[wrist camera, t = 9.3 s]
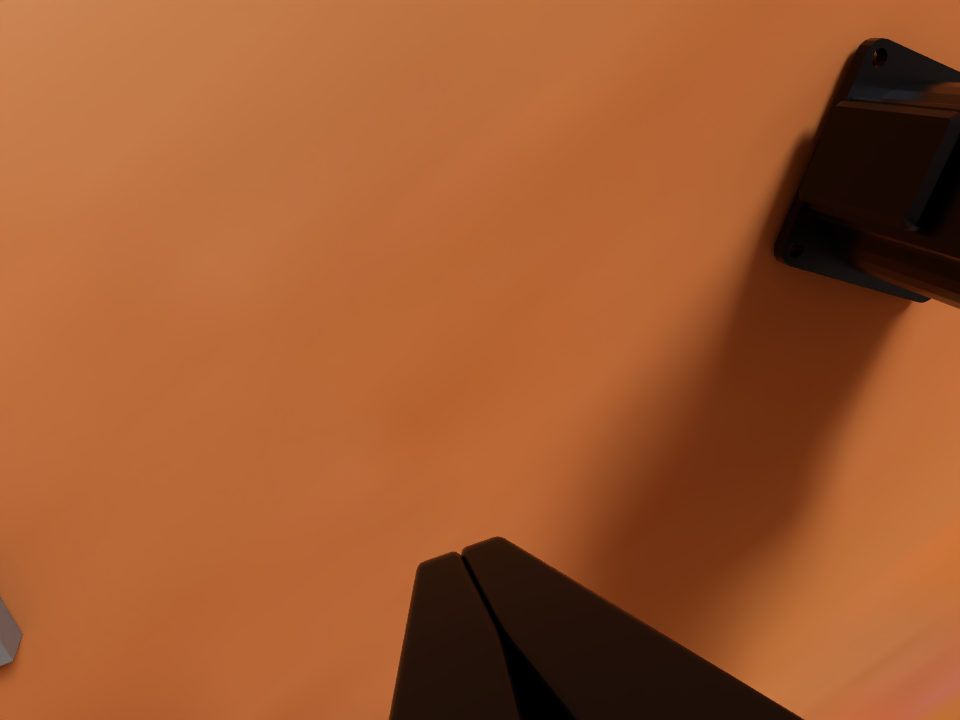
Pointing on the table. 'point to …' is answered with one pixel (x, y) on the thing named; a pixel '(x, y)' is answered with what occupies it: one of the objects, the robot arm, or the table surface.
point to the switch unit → (8, 635)
